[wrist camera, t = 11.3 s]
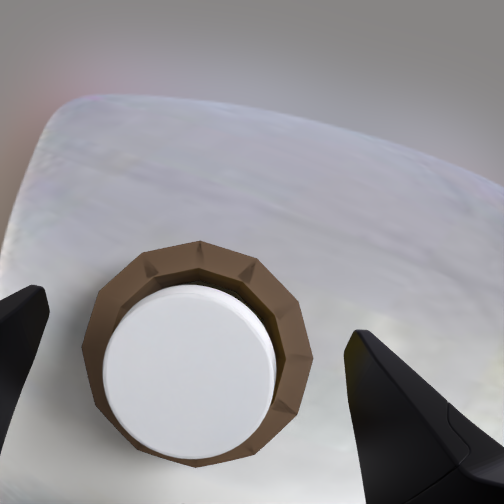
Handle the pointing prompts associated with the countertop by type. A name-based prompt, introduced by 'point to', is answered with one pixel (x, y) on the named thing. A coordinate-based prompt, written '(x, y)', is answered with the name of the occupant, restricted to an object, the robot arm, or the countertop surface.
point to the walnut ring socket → (226, 276)
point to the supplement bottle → (189, 372)
